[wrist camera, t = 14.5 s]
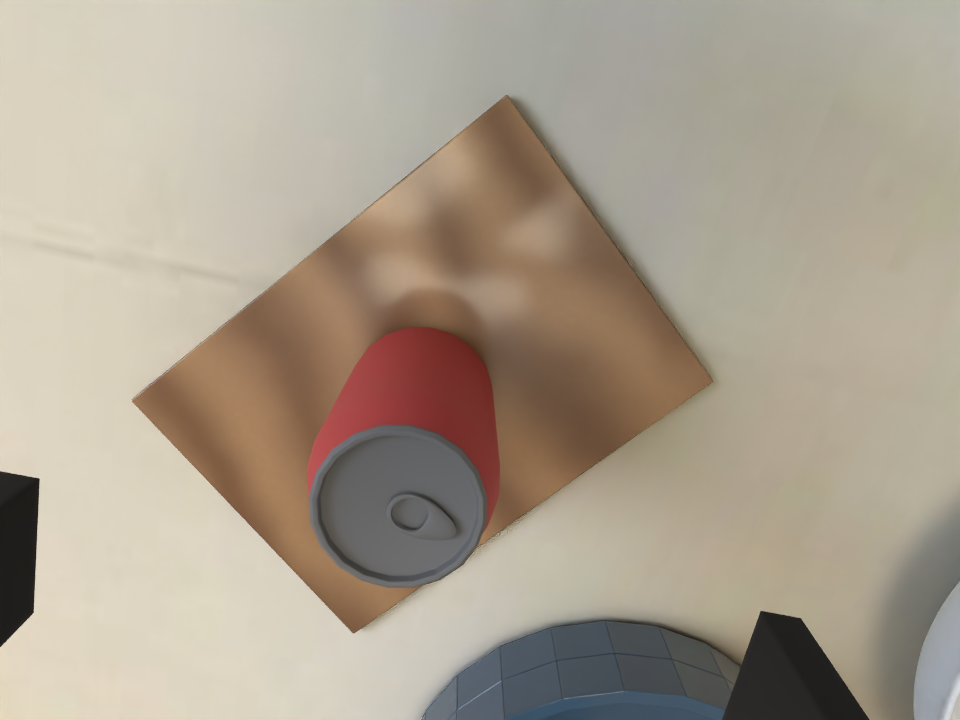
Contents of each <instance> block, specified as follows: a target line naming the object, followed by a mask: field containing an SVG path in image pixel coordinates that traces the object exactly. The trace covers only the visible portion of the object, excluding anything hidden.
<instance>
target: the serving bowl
mask: <svg viewBox="0 0 960 720" xmlns="http://www.w3.org/2000/svg"><path fill="white" fill-rule="evenodd" d="M913 707H914V720H960V582H959V583H958V584H957V585H956V586H955V588H954V589H953V590H952V591H951V593H950V594H949V596H948V597H947V599H946V600H945V602H944V603H943V605H942V606H941V608H940V610H939V611H938V613H937V615H936V617H935V619H934V621H933V623H932V625H931V627H930V629H929V631H928V634H927V636H926V638H925V641H924V644H923V647H922V650H921V653H920V657H919V661H918V665H917V670H916V676H915V683H914V702H913Z"/></svg>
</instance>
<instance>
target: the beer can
mask: <svg viewBox="0 0 960 720" xmlns="http://www.w3.org/2000/svg"><path fill="white" fill-rule="evenodd" d="M307 481H308V496H309V509H310V523H311V525H312V528H313V530H314V532H315V535H316V537H317V539H318V542H319V544H320V546H321V548H322V549H323V550H324V551H325V552H326V553H327V554H328V556H329V557H330V558H331V559H332V560H333V561H334V562H335V564H336V565H337V566H338V567H340V568H341V569H343V570H345V571H346V572H348V573H350V574H351V575H353V576H354V577H356V578H358V579H359V580H361V581H364V582H368V583H372V584H375V585H379V586H383V587H386V588H415V587H418V586H421V585H425V584H428V583H432V582H435V581H438V580H441V579H442V578H444V577H445V576H447V575H448V574H450V573H451V572H453V571H455V570H456V569H458V568H459V567H461V566H462V565H463V564H464V563H465V561H466V560H467V559H468V558H469V556H470V555H471V554H472V553H473V551H474V550H475V549H476V548H477V546H478V545H479V542H480V539H481V536H482V534H483V532H484V531H485V530H486V529H487V527H488V525H489V522H490V520H491V517H492V514H493V512H494V509H495V506H496V503H497V500H498V498H499V495H500V459H499V449H498V439H497V429H496V419H495V409H494V399H493V389H492V384H491V381H490V378H489V375H488V372H487V369H486V366H485V364H484V363H483V361H482V360H481V359H480V358H479V356H478V355H477V354H476V352H475V351H474V350H473V348H472V347H471V346H469V345H468V344H466V343H465V342H463V341H462V340H461V339H459V338H458V337H456V336H455V335H453V334H451V333H448V332H444V331H441V330H438V329H435V328H431V327H408V328H405V329H402V330H398V331H395V332H392V333H389V334H386V335H385V336H383V337H382V338H381V339H379V340H378V341H376V342H375V343H374V344H372V345H371V346H370V347H368V348H367V350H366V351H365V353H364V354H363V355H362V357H361V358H360V360H359V361H358V363H357V364H356V365H355V367H354V369H353V371H352V373H351V374H350V376H349V378H348V380H347V382H346V384H345V385H344V387H343V389H342V391H341V393H340V394H339V396H338V398H337V400H336V402H335V404H334V405H333V407H332V409H331V411H330V413H329V415H328V416H327V418H326V420H325V422H324V424H323V426H322V427H321V429H320V431H319V433H318V435H317V436H316V438H315V441H314V444H313V448H312V451H311V455H310V458H309V462H308V465H307Z"/></svg>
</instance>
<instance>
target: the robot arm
mask: <svg viewBox="0 0 960 720" xmlns="http://www.w3.org/2000/svg"><path fill="white" fill-rule="evenodd" d="M38 500H39V478H33V477H28V476H22V475H17V474H11V473H6V472H1V471H0V647H1V646H2V645H3V644H4V643H5V642H6V641H7V640H8V639H9V638H10V637H11V636H12V635H13V633H14V632H15V631H16V630H17V629H18V628H19V627H20V626H21V625H22V624H23V623H24V622H25V621H26V620H27V619H28V618H29V617H30V616H31V615H32V614H33V613H34V590H35V568H36V545H37V523H38ZM722 720H869V718H868V717H867V715H866V714H865V712H864V711H863V709H862V708H861V707H860V705H859V704H858V702H857V701H856V699H855V698H854V696H853V695H852V693H851V692H850V690H849V689H848V687H847V686H846V684H845V683H844V681H843V680H842V678H841V677H840V676H839V674H838V673H837V671H836V670H835V668H834V667H833V665H832V664H831V662H830V661H829V659H828V658H827V656H826V655H825V653H824V652H823V650H822V649H821V647H820V646H819V645H818V643H817V642H816V640H815V639H814V637H813V636H812V634H811V633H810V631H809V630H808V628H807V627H806V625H805V624H804V622H803V621H802V619H801V618H796V617H791V616H785V615H780V614H774V613H769V612H764V611H761V612H760V615H759V618H758V621H757V623H756V626H755V629H754V632H753V634H752V637H751V640H750V643H749V646H748V648H747V651H746V654H745V657H744V660H743V662H742V665H741V668H740V671H739V674H738V676H737V679H736V682H735V685H734V688H733V690H732V693H731V696H730V699H729V702H728V704H727V707H726V710H725V713H724V716H723V718H722Z"/></svg>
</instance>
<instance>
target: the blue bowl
mask: <svg viewBox="0 0 960 720" xmlns="http://www.w3.org/2000/svg"><path fill="white" fill-rule="evenodd" d="M740 668H741V667H740V666H738V665H737V664H735V663H734V662H733V661H731V660H730V659H728V658H727V657H725V656H724V655H722V654H721V653H720V652H718V651H717V650H715V649H714V648H712V647H711V646H709V645H708V644H706V643H703V642H700V641H697V640H694V639H692V638H689V637H686V636H683V635H680V634H678V633H675V632H672V631H669V630H667V629H664V628H661V627H658V626H650V625H641V624H631V623H621V622H612V621H600V622H592V623H584V624H576V625H568V626H560V627H552V628H548V629H545V630H543V631H540V632H537V633H535V634H532V635H529V636H526V637H524V638H521V639H518V640H516V641H513V642H510V643H507V644H505V645H502V646H501V647H499V648H497V649H496V650H494V651H493V652H491V653H490V654H488V655H487V656H485V657H484V658H482V659H481V660H479V661H478V662H476V663H475V664H473V665H472V666H471V667H469V668H468V669H466V670H465V671H463V672H462V673H460V674H459V675H457V676H456V677H455V678H454V680H453V681H452V682H451V683H450V684H449V685H448V686H447V688H446V689H445V690H444V691H443V692H442V693H441V694H440V696H439V697H438V698H437V699H436V700H435V701H434V702H433V704H432V705H431V706H430V707H429V708H428V709H427V710H426V712H425V714H424V716H423V718H422V720H722V718H723V716H724V713H725V710H726V707H727V704H728V702H729V699H730V696H731V693H732V690H733V688H734V685H735V682H736V679H737V676H738V674H739V671H740Z"/></svg>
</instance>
